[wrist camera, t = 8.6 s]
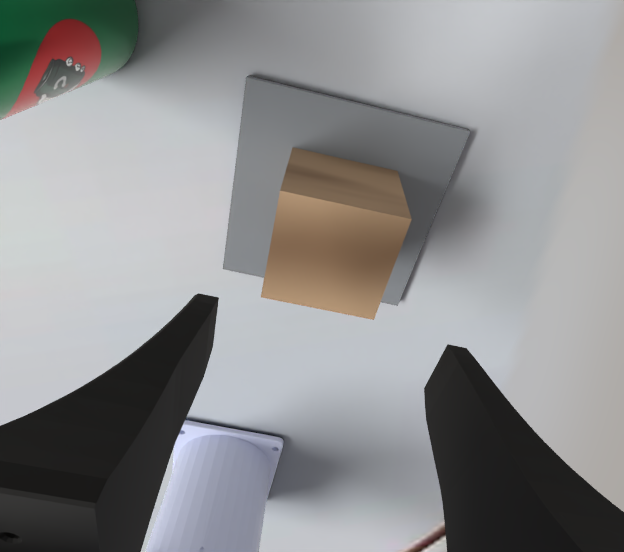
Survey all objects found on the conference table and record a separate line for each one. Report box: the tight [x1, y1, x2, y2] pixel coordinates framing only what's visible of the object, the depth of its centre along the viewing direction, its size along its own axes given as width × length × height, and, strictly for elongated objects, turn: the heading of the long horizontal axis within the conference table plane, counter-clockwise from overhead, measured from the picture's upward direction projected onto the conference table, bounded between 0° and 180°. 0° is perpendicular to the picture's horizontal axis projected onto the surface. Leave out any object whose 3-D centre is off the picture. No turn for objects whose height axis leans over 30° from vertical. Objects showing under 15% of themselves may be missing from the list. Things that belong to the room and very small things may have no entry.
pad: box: [223, 76, 470, 306], centre depth 22 cm, size 10×10×1 cm
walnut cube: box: [261, 148, 412, 320], centre depth 20 cm, size 5×5×5 cm
